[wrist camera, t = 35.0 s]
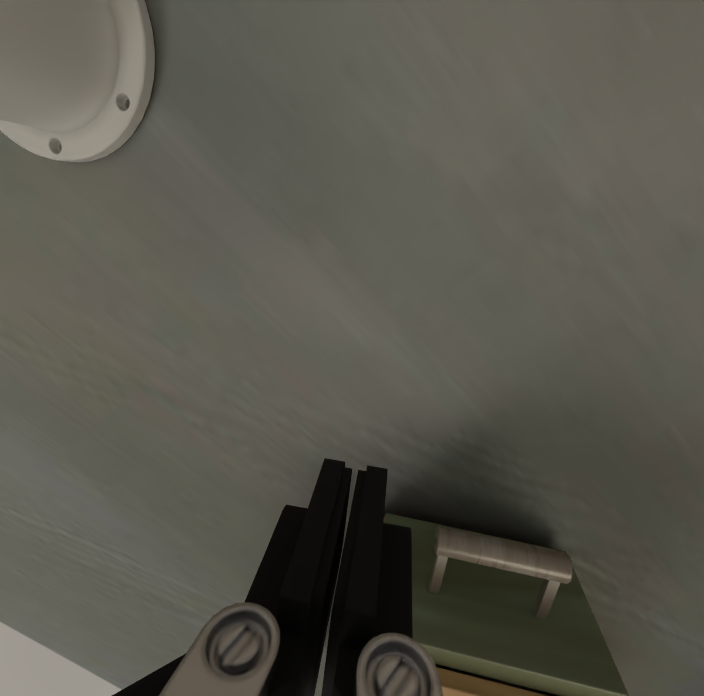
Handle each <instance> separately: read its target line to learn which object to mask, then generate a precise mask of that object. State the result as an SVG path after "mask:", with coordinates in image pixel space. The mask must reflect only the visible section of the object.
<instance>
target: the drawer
mask: <svg viewBox="0 0 704 696" xmlns="http://www.w3.org/2000/svg"><path fill="white" fill-rule="evenodd" d="M384 523H388V524H394V525H399V526H405V527H410V528H411V534H412V627H413V639H414V640H416V641H417V642H418V643H419V644H420V645H421V646H423V647H424V648H425V649H426V650H427V651H428V653H429V655H430V656H431V658H432V659H433V661H434V662H435V665H436V667H439V668H443V669H444V667H443V666H446V667H450V668H454V669H458V670H462V671H466V672H469V673H473V674H477V675H481V676H485V677H489V678H493V679H497V680H501V681H505V682H508V683H512V684H516V685H520V686H524V687H528V688H532V689H536V690H540V691H543V692H547V693H551V694H550V695H549V696H629V695H628V693H627V690H626V688H625V686H624V683H623V681H622V679H621V677H620V674H619V672H618V670H617V667H616V665H615V663H614V660H613V658H612V656H611V654H610V651H609V649H608V647H607V644H606V642H605V640H604V637H603V635H602V633H601V631H600V628H599V626H598V624H597V621H596V619H595V617H594V615H593V612H592V610H591V608H590V605H589V603H588V601H587V598H586V596H585V594H584V592H583V589H582V587H581V585H580V582H579V580H578V578H577V576H576V573H575V571H574V569H573V566H572V561H571V558H570V556H569V555H568V554H567V553H566V552H565V551H561V550H556V549H552V548H547V547H543V546H538V545H533V544H529V543H524V542H519V541H515V540H510V539H505V538H501V537H496V536H491V535H487V534H482V533H477V532H473V531H468V530H463V529H459V528H454V527H449V526H445V525H440V524H436V523H431V522H426V521H422V520H417V519H412V518H408V517H403V516H398V515H394V514H389V513H386V515H385V520H384Z"/></svg>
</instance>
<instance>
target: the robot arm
mask: <svg viewBox="0 0 704 696" xmlns="http://www.w3.org/2000/svg"><path fill="white" fill-rule="evenodd" d="M154 68H155V49H154V40H153V31H152V26H151V22H150V18H149V14H148V10H147V7H146V3H145V1H144V0H0V130H1V131H2V133H3V134H5V135H6V136H7V137H9V138H10V139H11V140H13V141H14V142H15V143H16V144H18V145H19V146H21V147H23V148H24V149H26V150H28V151H30V152H32V153H34V154H36V155H39V156H42V157H46V158H49V159H53V160H58V161H65V162H72V163H76V162H90V161H93V160H97V159H100V158H103V157H106V156H107V155H109V154H111V153H112V152H114V151H116V150H117V149H119V148H120V147H121V146H122V145H123V144H124V143H125V142H126V141H127V140H128V139H129V138H130V137H131V136H132V135H133V133H134V132H135V130H136V128H137V127H138V125H139V124H140V122H141V120H142V119H143V116H144V113H145V111H146V108H147V106H148V103H149V101H150V96H151V91H152V86H153V81H154ZM351 475H352V469H351V468H345V462H343V461H338V460H332V459H326V458H325V459H324V462H323V465H322V468H321V471H320V474H319V477H318V480H317V483H316V486H315V489H314V492H313V495H312V498H311V501H310V504H309V507H308V509H307V508H301V507H296V506H290V505H286V506H285V507H284V509H283V511H282V513H281V516H280V518H279V521H278V523H277V525H276V528H275V530H274V533H273V535H272V537H271V540H270V542H269V545H268V547H267V550H266V552H265V554H264V557H263V559H262V562H261V564H260V566H259V569H258V571H257V574H256V576H255V578H254V581H253V583H252V586H251V588H250V590H249V593H248V595H247V598H246V600H245V603H236V604H233V605H231V606H228V607H225V608H223V609H222V610H221V611H219V612H218V613H216V614H215V615H214V616H212V618H211V619H210V620H209V621H208V622H207V624H206V625H205V626H204V627H203V629H202V630H201V632H200V633H199V635H198V636H197V638H196V639H195V641H194V643H193V644H192V646H191V647H190V649H189V650H188V652H187V653H186V654H184V655H183V656H181V657H179V658H177V659H176V660H174V661H172V662H170V663H169V664H167V665H165V666H163V667H162V668H160V669H158V670H156V671H155V672H153V673H151V674H149V675H147V676H146V677H144V678H142V679H140V680H139V681H137V682H135V683H133V684H132V685H130V686H128V687H126V688H125V689H123V690H121V691H119V692H118V693H116V694H114V695H112V696H314V694H315V688H316V683H317V678H318V673H319V668H320V663H321V657H322V652H323V647H324V642H325V637H326V632H327V626H328V621H329V616H330V611H331V606H332V600H333V595H334V590H335V585H336V580H337V575H338V580H337V585H336V590H335V596H334V602H333V608H332V615H331V622H330V631H329V639H328V647H327V655H326V663H325V671H324V679H323V688H322V696H443V692H442V687H441V682H440V677H439V674H438V671H437V668H436V665H435V662H434V661H433V659H432V658H431V656H430V655H429V653H428V651H427V650H426V649H425V648H424V647H423V646H421V645H420V644H419V643H418V642H417V641H416V640H414V639H413V627H412V534H411V528H410V527H405V526H399V525H394V524H388V523H383V521H384V509H385V496H386V483H387V469H384V468H379V467H373V466H367V471H362V470H358V475H357V480H356V485H355V490H354V496H353V501H352V506H351V511H350V517H349V522H348V527H347V532H346V538H345V543H344V548H343V553H342V546H343V538H344V530H345V523H346V515H347V507H348V499H349V491H350V483H351ZM341 553H342V559H341ZM340 559H341V564H340ZM339 564H340V569H339ZM338 569H339V574H338Z"/></svg>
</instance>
